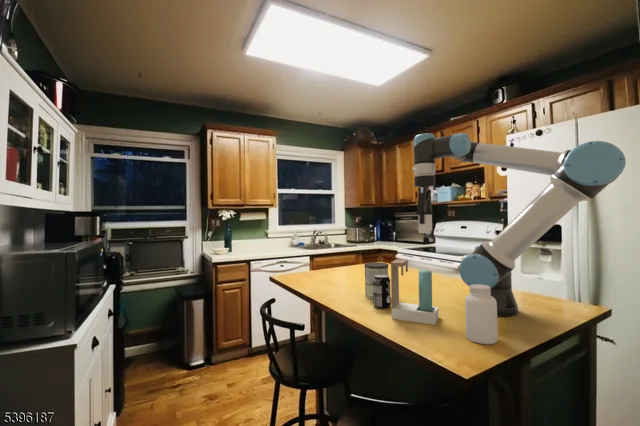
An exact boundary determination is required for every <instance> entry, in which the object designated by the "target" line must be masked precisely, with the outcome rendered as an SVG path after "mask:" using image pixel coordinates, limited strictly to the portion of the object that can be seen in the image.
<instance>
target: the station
mask: <svg viewBox="0 0 640 426" xmlns="http://www.w3.org/2000/svg"><path fill="white" fill-rule="evenodd" d="M408 263H409V260H408V259H402V258H401V259H399V258H398V259H395V260H393V261H391V262H390V296H391V319H392V320H398V321H405V322H411V323H412V322H413V323H420V324H426V325H432V326H433V325H434V326H436V324H437V322H438V319H439V306H433V305H432V312H425V311H419V304H415V303H409V302H408V303H407V302H406V303H405V302H400V286H399V285H400V284H399V283H400V281H399V275H400V276H402V277H403V276H404V267H405V273H408V271H409V270H408V269H409V265H408ZM399 267H400V273H401V274H400V273H399Z"/></svg>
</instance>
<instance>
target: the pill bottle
mask: <svg viewBox="0 0 640 426" xmlns="http://www.w3.org/2000/svg"><path fill="white" fill-rule="evenodd" d="M468 288H469V293H468V294H467V295H466V296H465V298H464V311H465V312H464V313H465V314H464V315H465V335H466V338H467V340H469V341H471V342H473V343H477V344H481V345H494V344H496V343H498V340H499V339H498V338H499V337H498V335H499V333H498V332H499V331H498V330H499V329H498V316H497V302H496V299H495V298H494V297H492V296H490V295H491V293H490V292H491V288H490V286H487V285H481V284H473V285H470V286H468Z"/></svg>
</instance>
